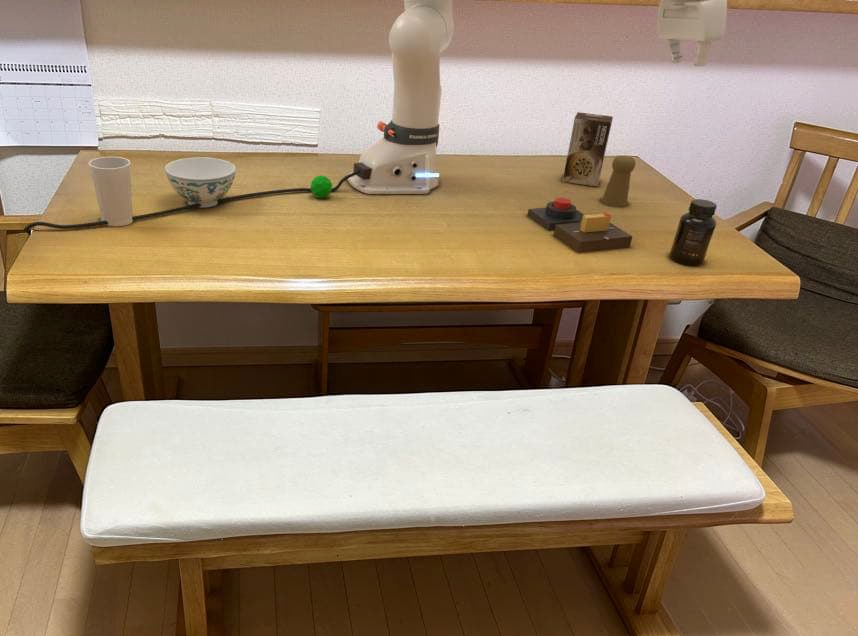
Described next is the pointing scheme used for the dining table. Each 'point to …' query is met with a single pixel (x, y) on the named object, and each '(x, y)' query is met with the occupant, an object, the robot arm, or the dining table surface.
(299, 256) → the dining table surface
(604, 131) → the coffee box
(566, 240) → the clock face plate
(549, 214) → the alarm box
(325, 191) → the polyhedron
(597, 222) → the upright wooden block
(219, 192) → the chinaware
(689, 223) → the supplement bottle
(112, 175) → the cup
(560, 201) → the button
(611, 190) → the brown pawn
